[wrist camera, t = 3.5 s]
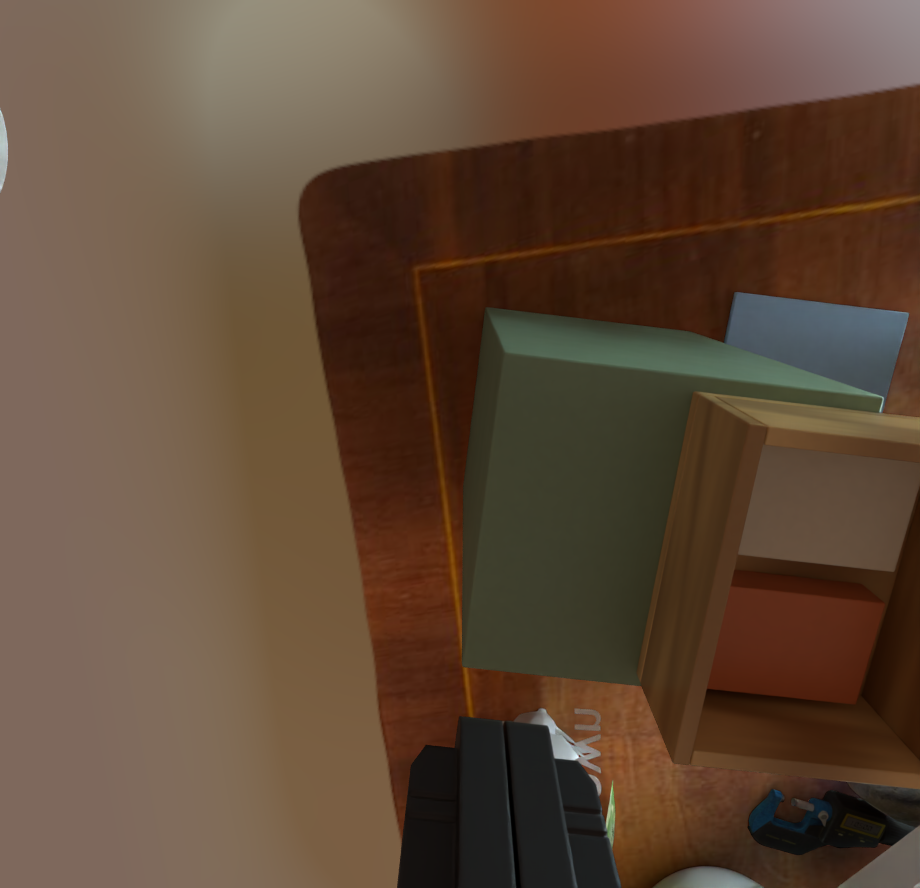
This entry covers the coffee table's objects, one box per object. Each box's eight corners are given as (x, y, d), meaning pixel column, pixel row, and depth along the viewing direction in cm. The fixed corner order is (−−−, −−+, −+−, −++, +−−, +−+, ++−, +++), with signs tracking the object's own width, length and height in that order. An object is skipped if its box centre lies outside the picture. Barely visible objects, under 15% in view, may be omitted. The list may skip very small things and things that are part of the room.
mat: (699, 459, 44) (701, 460, 43) (734, 291, 41) (736, 292, 41) (861, 477, 44) (864, 479, 44) (905, 312, 42) (909, 313, 41)
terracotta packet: (688, 664, 24) (702, 689, 23) (710, 566, 23) (725, 585, 22) (835, 680, 24) (856, 705, 23) (862, 583, 23) (886, 603, 22)
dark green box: (462, 488, 44) (461, 667, 25) (485, 306, 42) (503, 351, 22) (655, 509, 45) (802, 704, 25) (691, 331, 42) (885, 397, 22)
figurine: (482, 797, 52) (624, 817, 48) (439, 895, 44) (603, 928, 41) (458, 649, 49) (607, 658, 45) (407, 727, 41) (581, 746, 38)
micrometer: (747, 845, 49) (777, 785, 48) (738, 825, 51) (767, 766, 50) (910, 896, 49) (944, 837, 48) (895, 873, 51) (927, 816, 50)
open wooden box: (635, 673, 25) (672, 764, 21) (692, 390, 22) (748, 423, 18) (862, 697, 25) (947, 793, 21) (943, 420, 23) (1060, 460, 18)
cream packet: (716, 537, 23) (732, 554, 22) (741, 428, 22) (759, 439, 21) (870, 554, 23) (895, 573, 22) (900, 447, 22) (928, 459, 21)
